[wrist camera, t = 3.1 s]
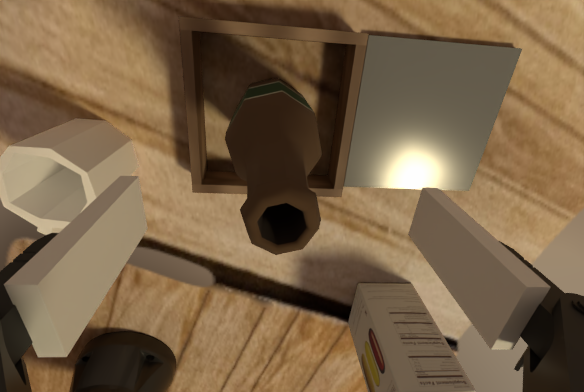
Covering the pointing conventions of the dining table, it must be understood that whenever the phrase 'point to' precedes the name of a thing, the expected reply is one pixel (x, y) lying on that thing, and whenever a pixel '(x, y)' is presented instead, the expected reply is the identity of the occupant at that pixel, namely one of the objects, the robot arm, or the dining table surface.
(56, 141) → the mug
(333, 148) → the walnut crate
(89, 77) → the dining table surface
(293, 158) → the beer bottle
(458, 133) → the slate pad
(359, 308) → the supplement box
